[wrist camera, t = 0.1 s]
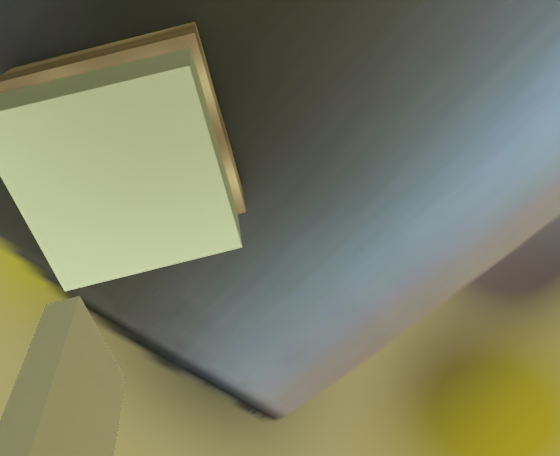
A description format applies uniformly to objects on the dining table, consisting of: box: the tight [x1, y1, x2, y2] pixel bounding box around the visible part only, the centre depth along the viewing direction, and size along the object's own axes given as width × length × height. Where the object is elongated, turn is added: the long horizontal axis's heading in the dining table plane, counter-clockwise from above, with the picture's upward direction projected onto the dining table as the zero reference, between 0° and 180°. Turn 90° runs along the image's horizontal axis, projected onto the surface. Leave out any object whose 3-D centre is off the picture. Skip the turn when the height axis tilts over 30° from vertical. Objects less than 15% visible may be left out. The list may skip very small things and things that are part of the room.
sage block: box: [0, 47, 242, 291], centre depth 31 cm, size 12×12×5 cm
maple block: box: [0, 22, 246, 214], centre depth 36 cm, size 13×13×5 cm
